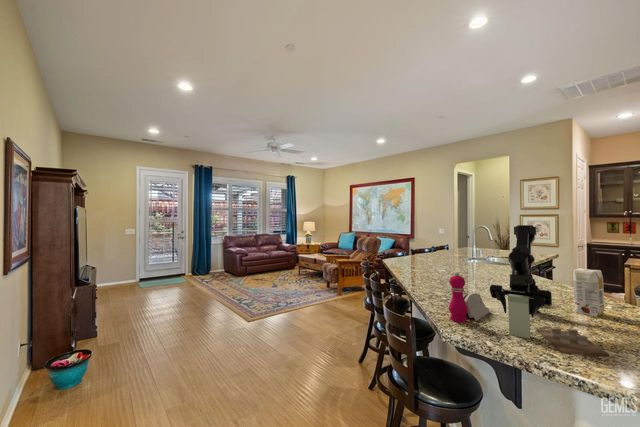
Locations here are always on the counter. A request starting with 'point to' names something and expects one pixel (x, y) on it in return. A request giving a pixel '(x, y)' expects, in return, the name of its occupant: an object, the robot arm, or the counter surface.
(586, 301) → the juice carton
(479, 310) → the grey rounded slab
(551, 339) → the plate
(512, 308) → the door
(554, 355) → the counter surface
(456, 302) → the pepper mill
